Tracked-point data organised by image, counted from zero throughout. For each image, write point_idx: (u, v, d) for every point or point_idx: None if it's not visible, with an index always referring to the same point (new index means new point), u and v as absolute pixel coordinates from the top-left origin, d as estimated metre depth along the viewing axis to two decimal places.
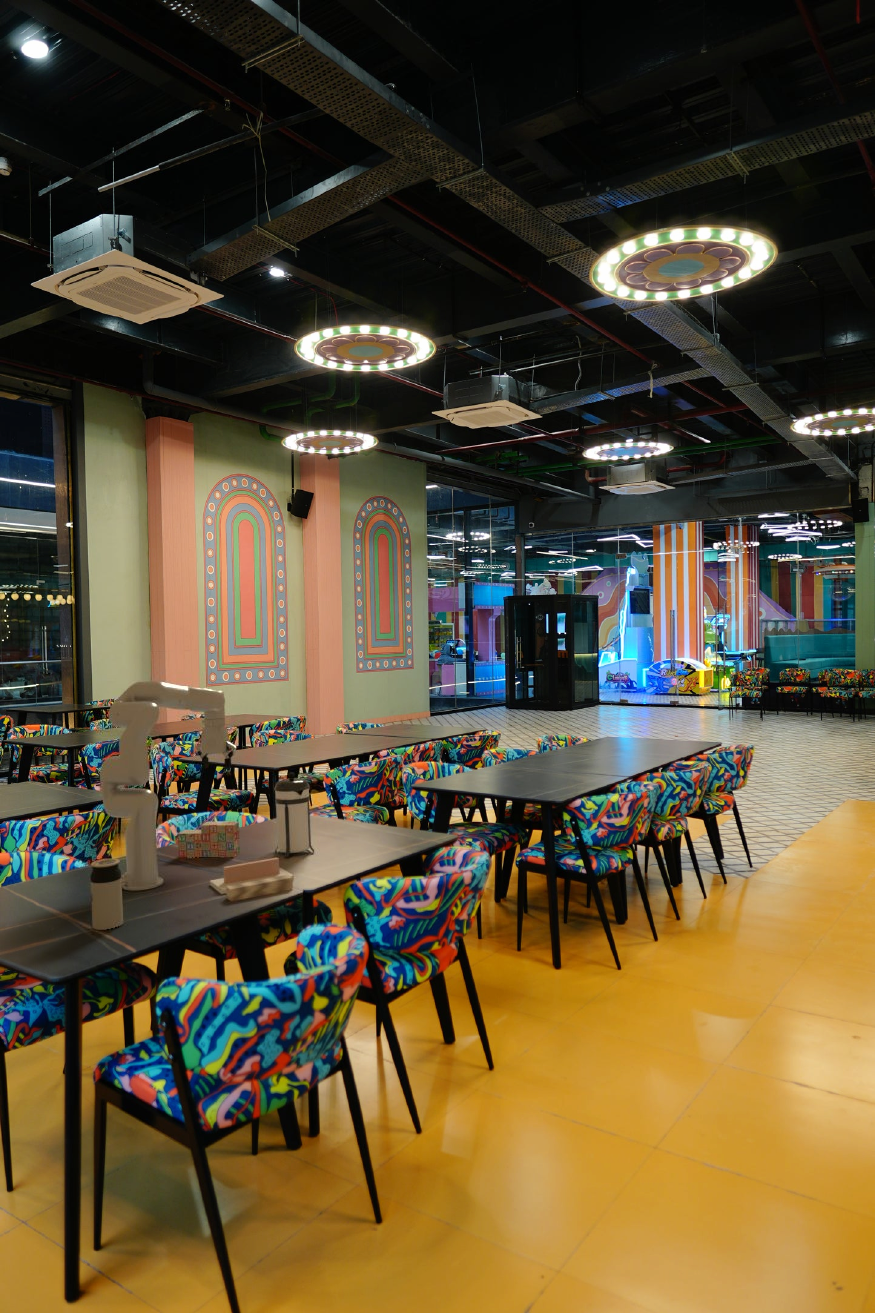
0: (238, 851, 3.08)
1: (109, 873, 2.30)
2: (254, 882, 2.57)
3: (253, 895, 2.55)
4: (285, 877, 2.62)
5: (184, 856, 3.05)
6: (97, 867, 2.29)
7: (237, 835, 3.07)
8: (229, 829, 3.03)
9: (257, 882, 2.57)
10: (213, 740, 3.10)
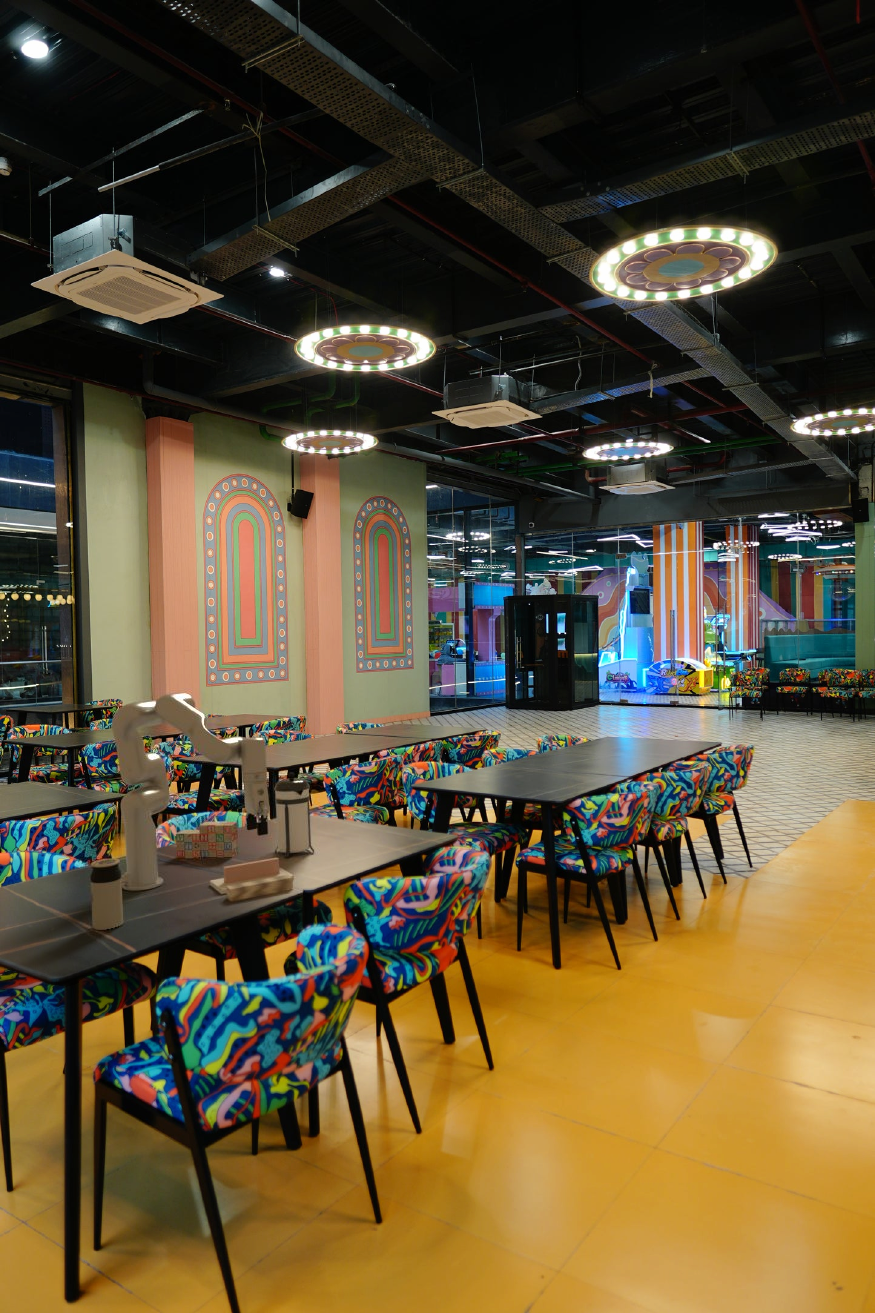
0: (236, 851, 3.08)
1: (109, 873, 2.30)
2: (254, 882, 2.57)
3: (253, 895, 2.55)
4: (285, 877, 2.62)
5: (182, 856, 3.05)
6: (97, 867, 2.29)
7: (235, 835, 3.07)
8: (227, 829, 3.03)
9: (257, 882, 2.57)
10: None
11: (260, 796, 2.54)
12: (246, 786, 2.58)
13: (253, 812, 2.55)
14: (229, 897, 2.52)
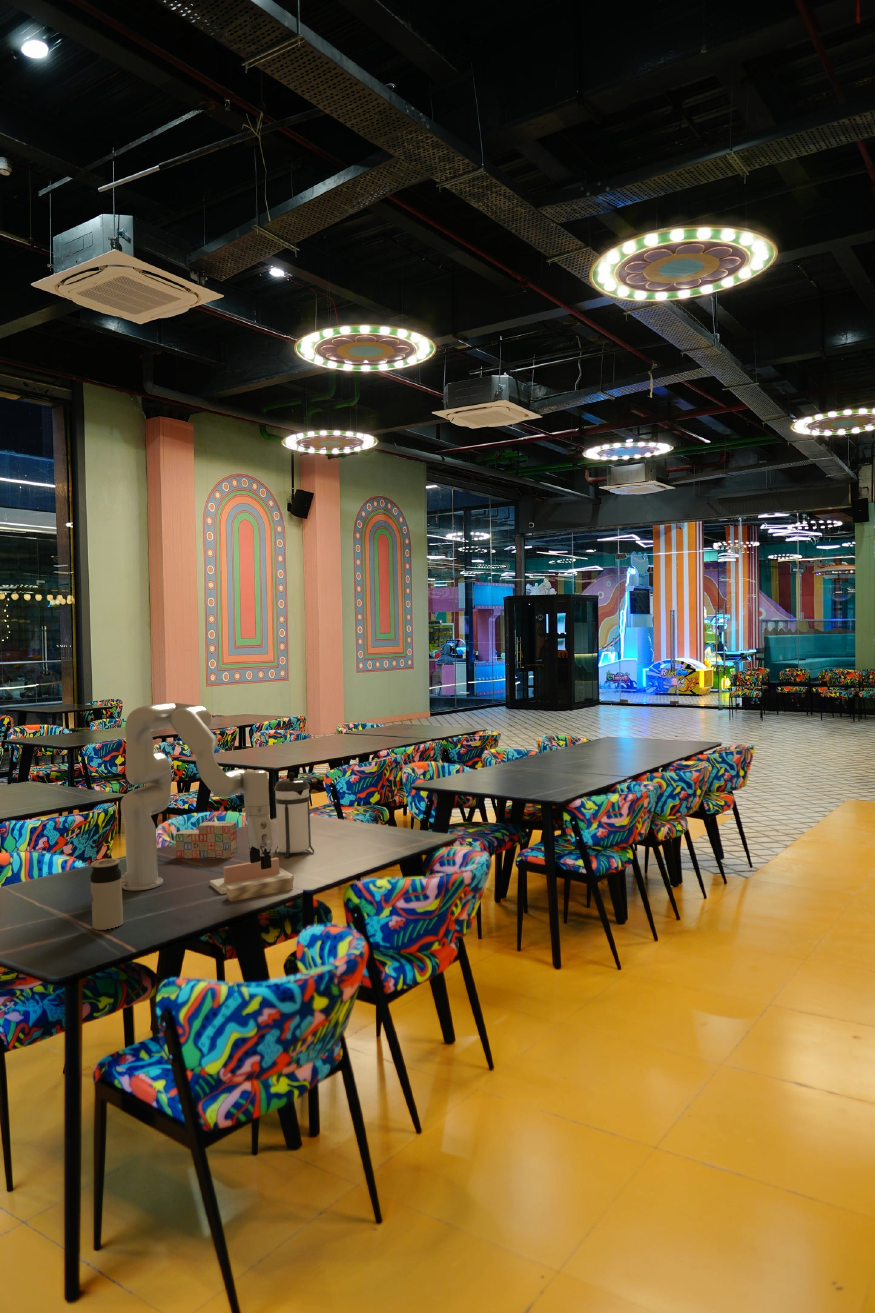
0: (235, 851, 3.07)
1: (109, 873, 2.30)
2: (254, 882, 2.57)
3: (253, 895, 2.55)
4: (285, 877, 2.62)
5: (182, 856, 3.05)
6: (97, 867, 2.29)
7: (234, 835, 3.06)
8: (226, 829, 3.03)
9: (257, 882, 2.57)
10: None
11: (263, 830, 2.53)
12: (249, 819, 2.57)
13: (256, 846, 2.54)
14: (229, 897, 2.52)
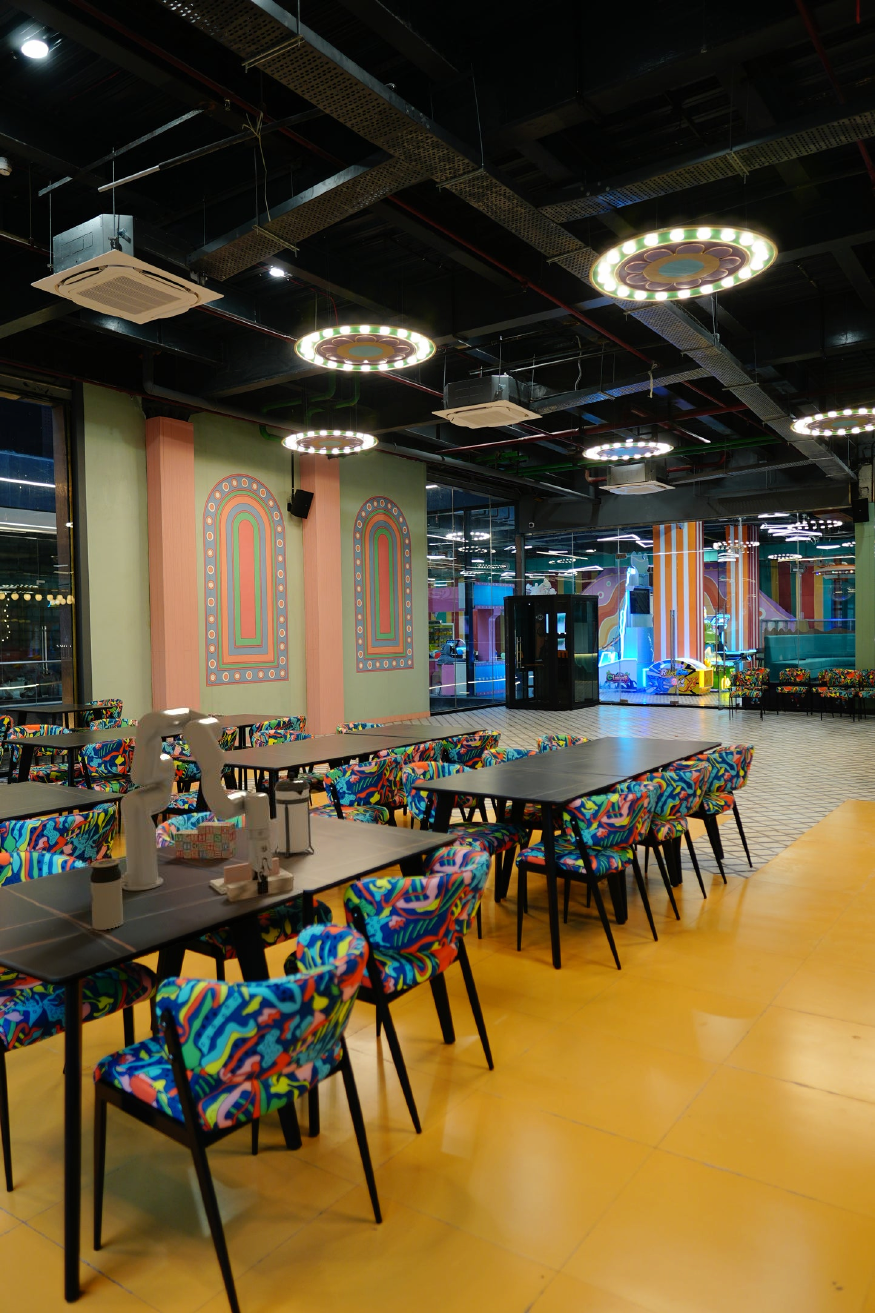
0: (234, 852, 3.07)
1: (109, 873, 2.30)
2: (254, 881, 2.57)
3: (253, 894, 2.55)
4: (285, 876, 2.62)
5: (181, 856, 3.05)
6: (97, 867, 2.29)
7: (233, 836, 3.06)
8: (224, 830, 3.02)
9: (257, 881, 2.57)
10: None
11: (263, 853, 2.53)
12: (249, 842, 2.57)
13: (256, 869, 2.54)
14: (229, 896, 2.52)
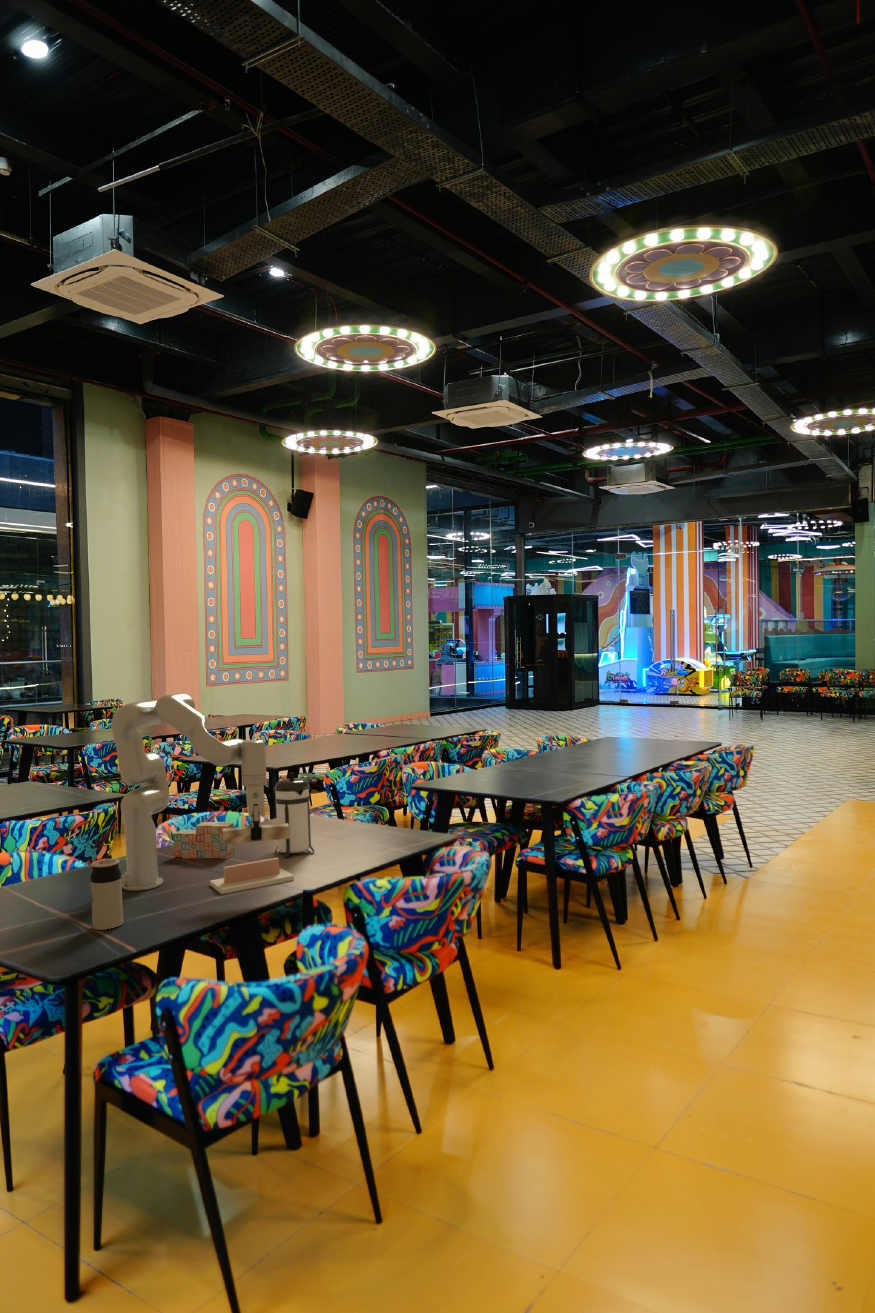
0: (233, 852, 3.06)
1: (109, 873, 2.30)
2: (250, 827, 2.59)
3: (247, 839, 2.57)
4: (282, 825, 2.61)
5: (180, 856, 3.05)
6: (97, 867, 2.29)
7: None
8: (222, 830, 3.02)
9: None
10: None
11: (255, 799, 2.55)
12: None
13: (249, 814, 2.56)
14: (223, 839, 2.56)
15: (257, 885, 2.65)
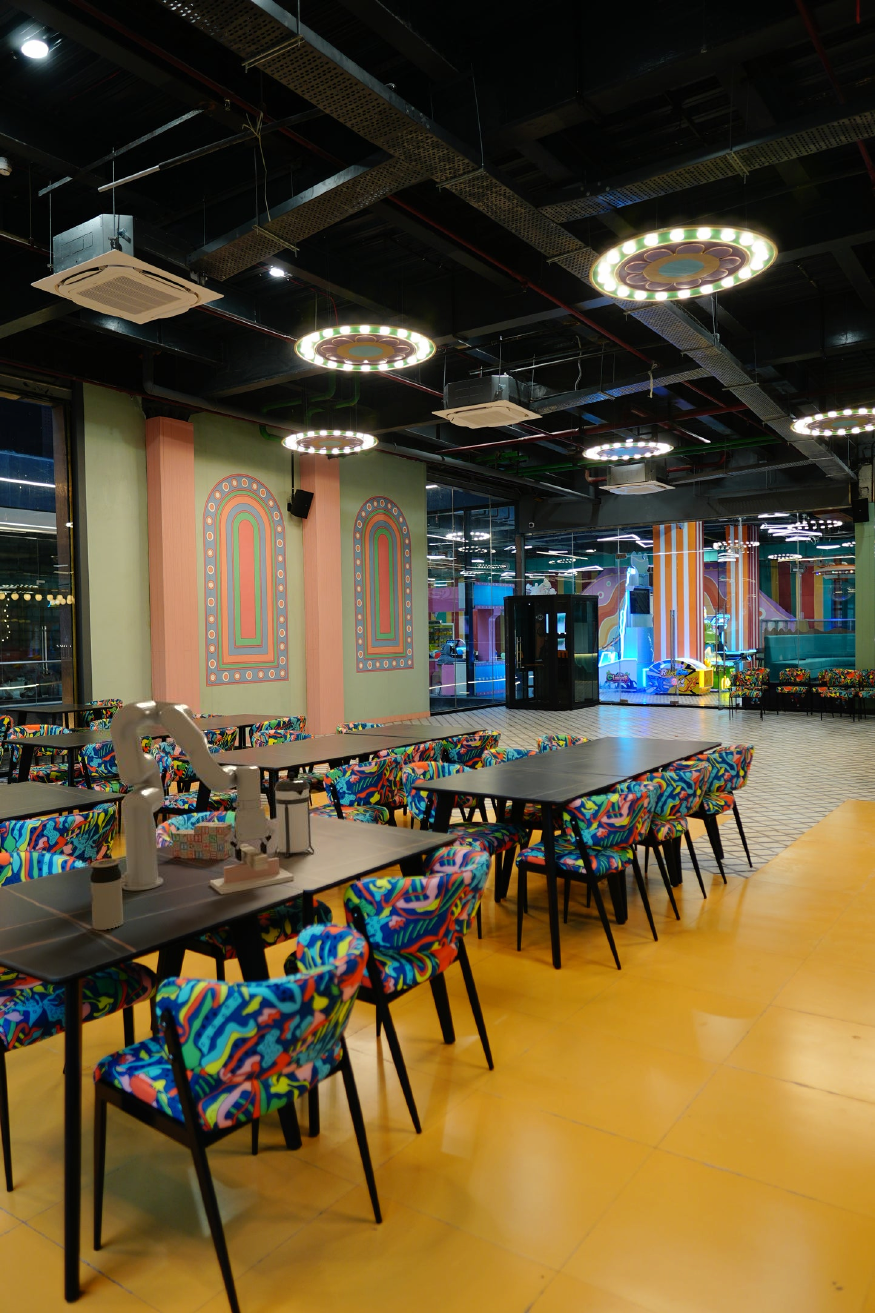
0: (231, 853, 3.06)
1: (109, 873, 2.30)
2: (249, 849, 2.71)
3: (242, 859, 2.71)
4: (257, 856, 2.63)
5: (178, 856, 3.06)
6: (97, 867, 2.29)
7: None
8: (220, 830, 3.01)
9: (249, 850, 2.70)
10: (255, 824, 2.68)
11: (234, 822, 2.67)
12: None
13: None
14: None
15: (257, 885, 2.65)
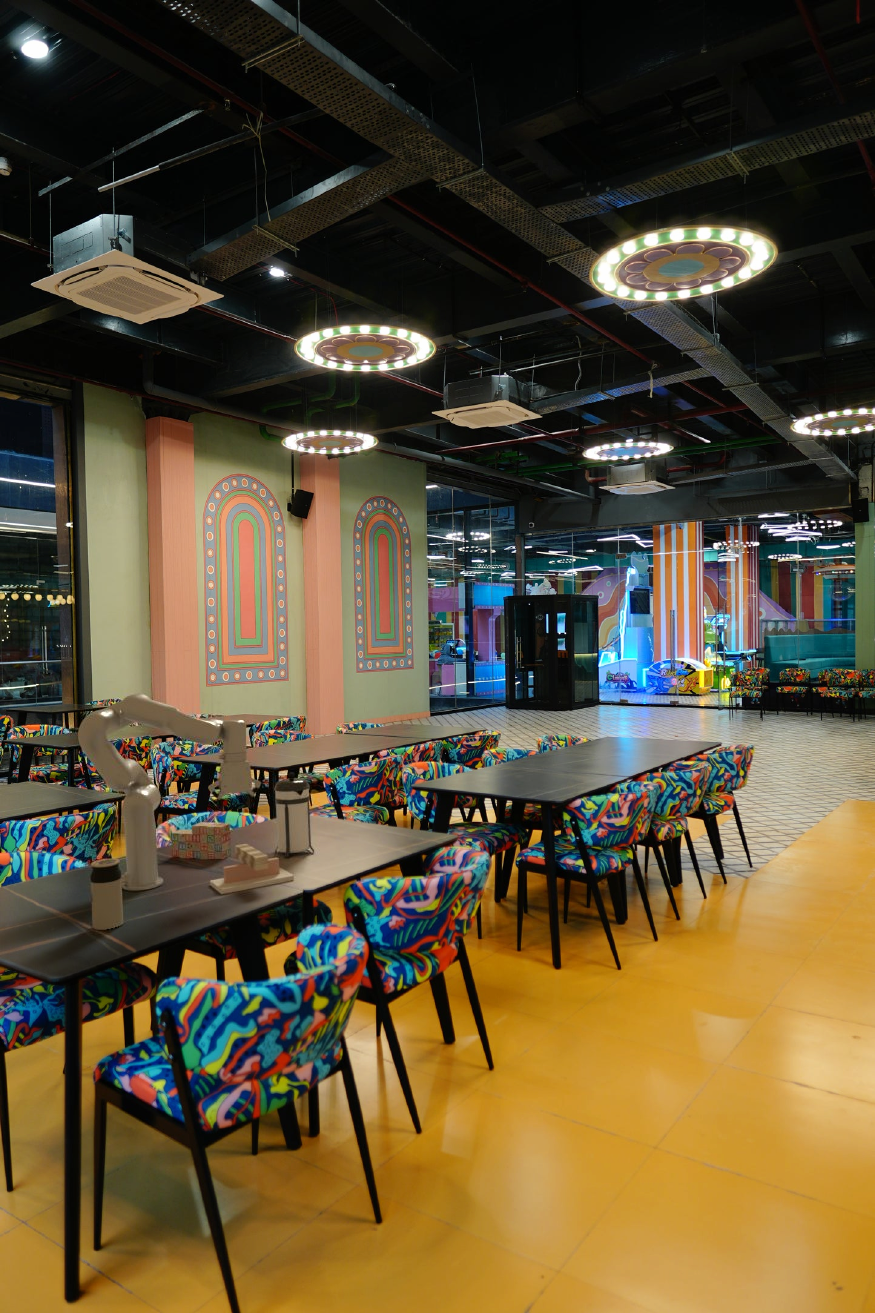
0: (229, 853, 3.05)
1: (109, 873, 2.30)
2: (249, 849, 2.71)
3: (242, 859, 2.71)
4: (257, 856, 2.63)
5: (177, 856, 3.06)
6: (97, 867, 2.29)
7: (227, 837, 3.04)
8: (217, 831, 3.01)
9: (249, 850, 2.70)
10: (240, 777, 2.72)
11: (219, 774, 2.71)
12: None
13: None
14: None
15: (257, 885, 2.65)
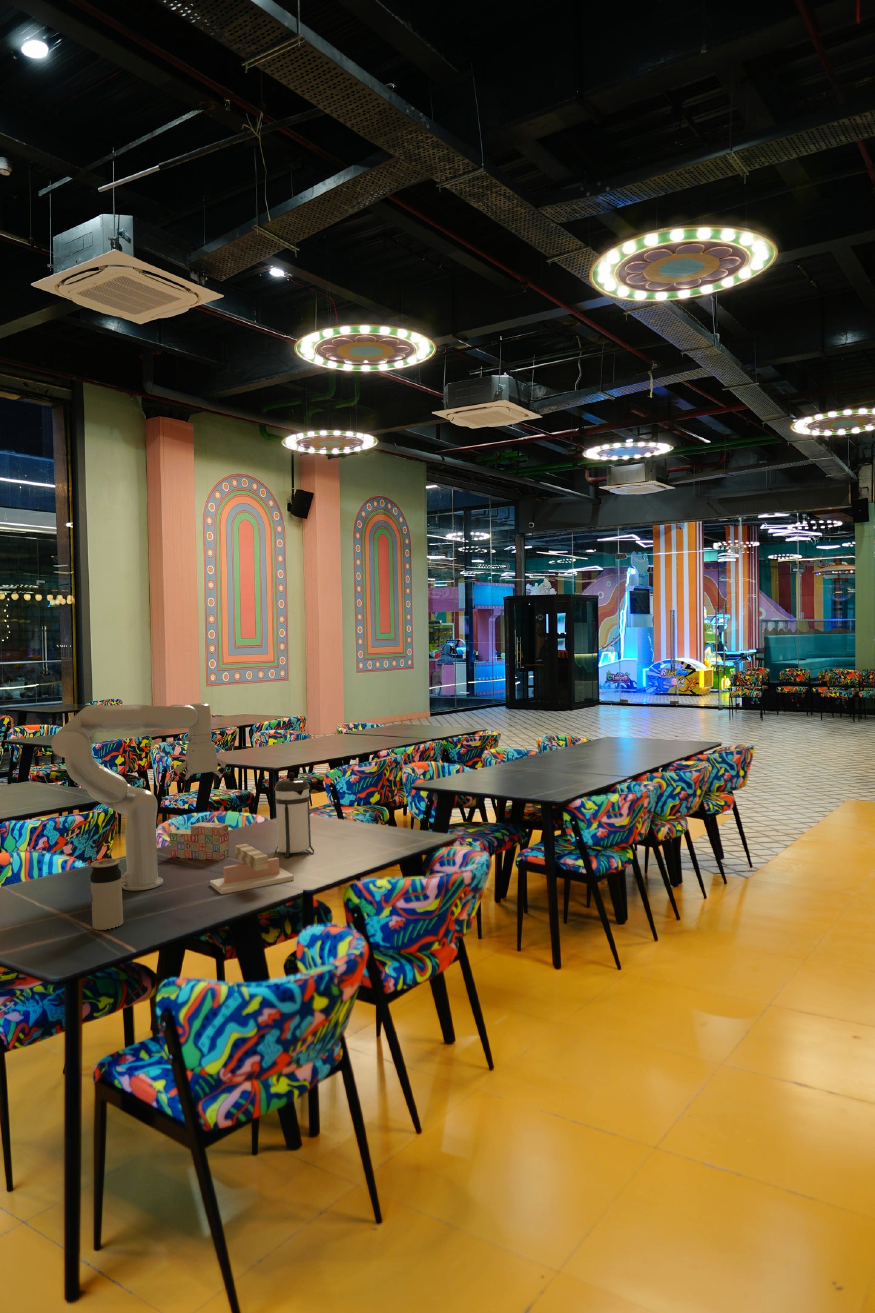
0: (227, 854, 3.05)
1: (109, 873, 2.30)
2: (249, 849, 2.71)
3: (242, 859, 2.71)
4: (257, 856, 2.63)
5: (176, 856, 3.06)
6: (97, 867, 2.29)
7: (225, 837, 3.04)
8: (215, 831, 3.00)
9: (249, 850, 2.70)
10: (205, 757, 2.85)
11: (186, 756, 2.84)
12: None
13: None
14: None
15: (257, 885, 2.65)
